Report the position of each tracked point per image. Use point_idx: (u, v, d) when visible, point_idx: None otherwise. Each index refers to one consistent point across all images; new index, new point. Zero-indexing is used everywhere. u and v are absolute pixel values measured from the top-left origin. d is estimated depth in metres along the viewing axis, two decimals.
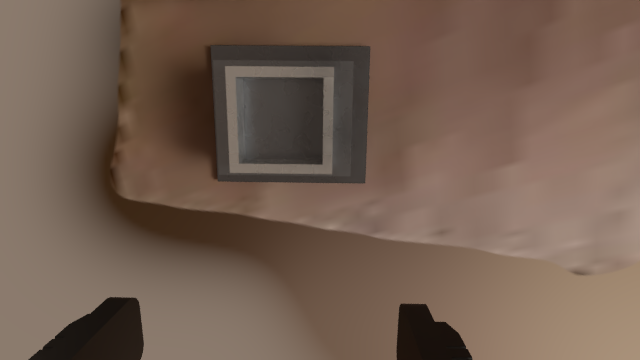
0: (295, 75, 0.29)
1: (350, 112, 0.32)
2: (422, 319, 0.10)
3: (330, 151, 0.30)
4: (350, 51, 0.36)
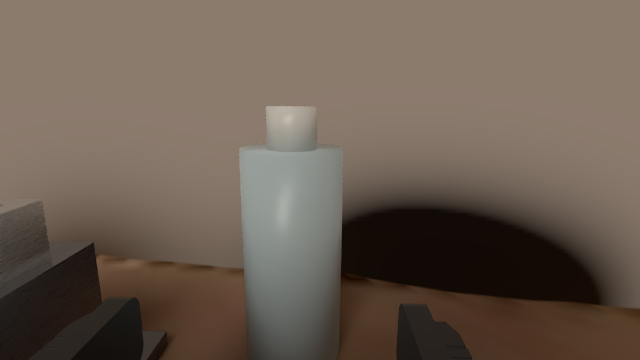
0: None
1: None
2: (422, 319, 0.10)
3: None
4: None
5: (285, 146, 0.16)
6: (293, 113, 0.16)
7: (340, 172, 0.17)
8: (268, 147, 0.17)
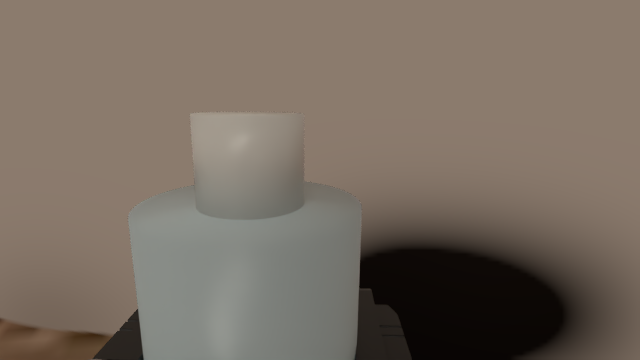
0: None
1: None
2: (363, 301, 0.10)
3: None
4: None
5: (230, 207, 0.07)
6: (245, 132, 0.07)
7: (356, 260, 0.08)
8: (196, 204, 0.08)
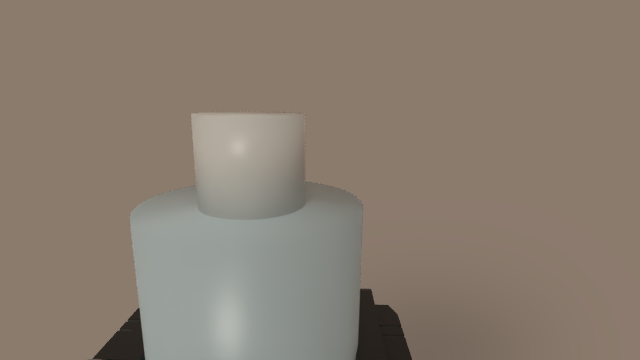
0: None
1: None
2: (363, 301, 0.10)
3: None
4: None
5: (231, 207, 0.07)
6: (246, 132, 0.07)
7: (357, 260, 0.08)
8: (198, 204, 0.08)
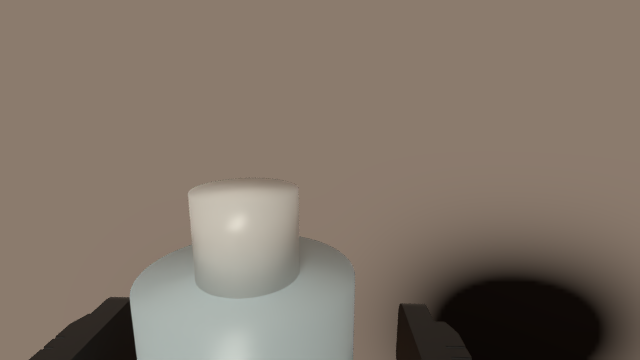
0: None
1: None
2: (421, 319, 0.10)
3: None
4: None
5: (227, 286, 0.07)
6: (241, 217, 0.07)
7: (349, 331, 0.08)
8: (195, 278, 0.08)
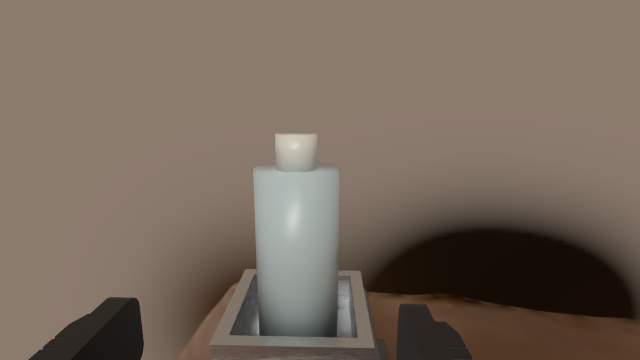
0: (357, 313, 0.22)
1: None
2: (422, 319, 0.10)
3: (246, 343, 0.19)
4: None
5: (291, 167, 0.20)
6: (297, 141, 0.20)
7: (336, 188, 0.21)
8: (277, 168, 0.21)
